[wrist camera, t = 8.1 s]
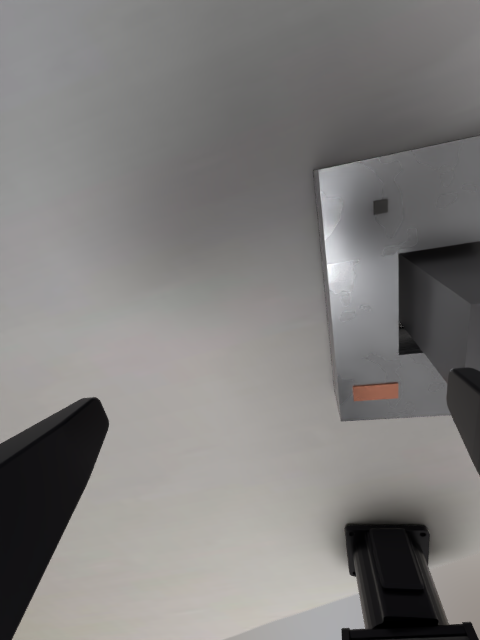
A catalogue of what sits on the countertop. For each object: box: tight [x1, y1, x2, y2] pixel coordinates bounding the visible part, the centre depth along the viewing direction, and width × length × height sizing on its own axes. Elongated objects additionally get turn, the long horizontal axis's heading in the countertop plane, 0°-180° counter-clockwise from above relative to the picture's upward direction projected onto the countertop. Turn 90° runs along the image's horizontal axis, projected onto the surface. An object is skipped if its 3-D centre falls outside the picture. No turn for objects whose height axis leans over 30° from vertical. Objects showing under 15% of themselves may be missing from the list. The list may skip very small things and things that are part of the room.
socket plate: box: [313, 136, 480, 421], centre depth 17 cm, size 14×12×3 cm
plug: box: [398, 241, 480, 383], centre depth 14 cm, size 4×4×9 cm
